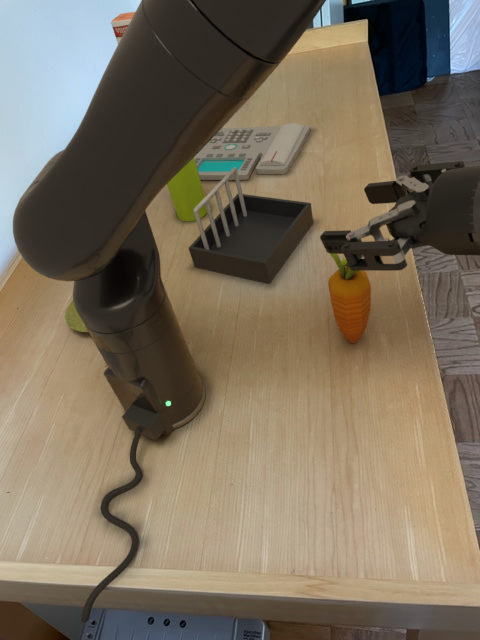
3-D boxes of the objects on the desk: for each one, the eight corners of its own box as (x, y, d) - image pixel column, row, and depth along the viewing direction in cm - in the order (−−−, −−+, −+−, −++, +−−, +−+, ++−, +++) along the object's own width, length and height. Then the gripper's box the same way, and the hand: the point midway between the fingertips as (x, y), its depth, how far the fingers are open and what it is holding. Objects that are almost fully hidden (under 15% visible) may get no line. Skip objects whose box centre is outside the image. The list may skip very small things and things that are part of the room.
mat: (150, 316, 81) (146, 307, 79) (81, 352, 78) (76, 343, 77) (125, 280, 89) (121, 271, 87) (62, 311, 86) (56, 302, 85)
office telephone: (310, 119, 112) (284, 168, 99) (311, 130, 114) (286, 181, 101) (209, 122, 120) (173, 169, 107) (211, 133, 122) (177, 180, 109)
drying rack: (269, 284, 81) (257, 227, 74) (194, 267, 87) (177, 214, 80) (313, 223, 89) (306, 167, 82) (242, 212, 96) (230, 160, 89)
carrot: (326, 339, 70) (315, 248, 60) (358, 323, 71) (352, 231, 61) (347, 362, 67) (339, 270, 57) (381, 345, 68) (378, 252, 58)
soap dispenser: (209, 220, 96) (179, 113, 83) (174, 222, 98) (138, 117, 85) (216, 202, 100) (188, 96, 87) (182, 204, 102) (150, 101, 89)
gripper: (524, 124, 45) (369, 149, 58) (447, 224, 40) (293, 228, 52) (541, 198, 49) (392, 207, 62) (473, 300, 43) (323, 287, 56)
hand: (346, 217), depth 57 cm, fingers open, 8 cm apart
